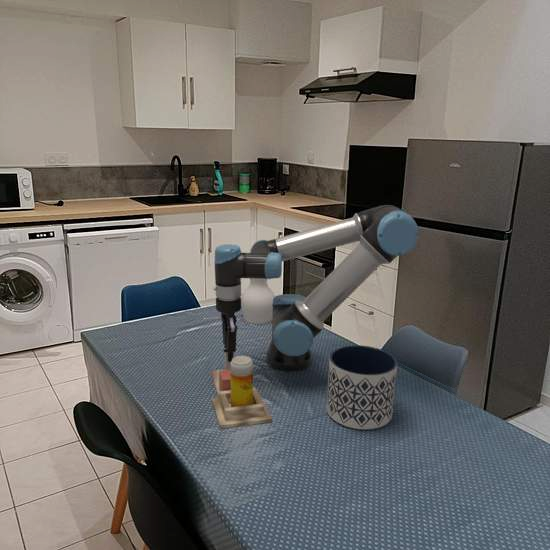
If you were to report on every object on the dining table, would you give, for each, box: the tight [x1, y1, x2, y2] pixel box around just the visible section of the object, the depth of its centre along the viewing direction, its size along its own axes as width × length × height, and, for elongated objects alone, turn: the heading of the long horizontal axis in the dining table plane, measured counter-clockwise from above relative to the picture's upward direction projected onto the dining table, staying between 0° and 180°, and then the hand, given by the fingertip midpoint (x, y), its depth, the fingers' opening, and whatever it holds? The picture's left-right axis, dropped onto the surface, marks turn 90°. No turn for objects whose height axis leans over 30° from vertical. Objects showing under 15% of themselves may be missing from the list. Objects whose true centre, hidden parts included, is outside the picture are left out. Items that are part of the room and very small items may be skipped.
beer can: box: [230, 355, 254, 407], centre depth 141 cm, size 6×6×15 cm
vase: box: [240, 278, 276, 325], centre depth 208 cm, size 14×14×20 cm
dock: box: [210, 368, 273, 430], centre depth 152 cm, size 14×31×4 cm, turn 15°
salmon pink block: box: [219, 369, 231, 391], centre depth 151 cm, size 8×6×6 cm
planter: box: [326, 344, 398, 430], centre depth 143 cm, size 18×18×16 cm
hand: (229, 369), depth 161 cm, fingers closed
